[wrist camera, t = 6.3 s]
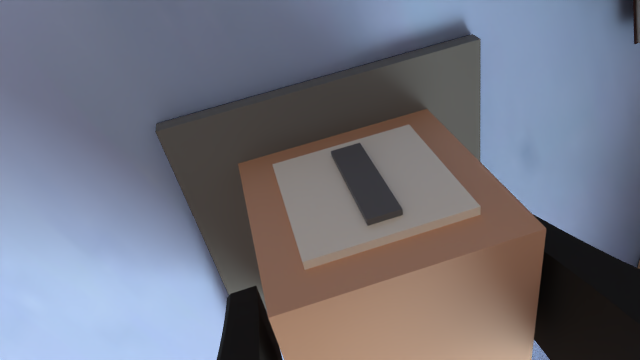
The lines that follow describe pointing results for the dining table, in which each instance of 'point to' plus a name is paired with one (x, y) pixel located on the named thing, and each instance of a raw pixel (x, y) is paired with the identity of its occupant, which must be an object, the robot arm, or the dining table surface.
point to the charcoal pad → (309, 134)
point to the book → (636, 21)
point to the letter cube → (393, 248)
